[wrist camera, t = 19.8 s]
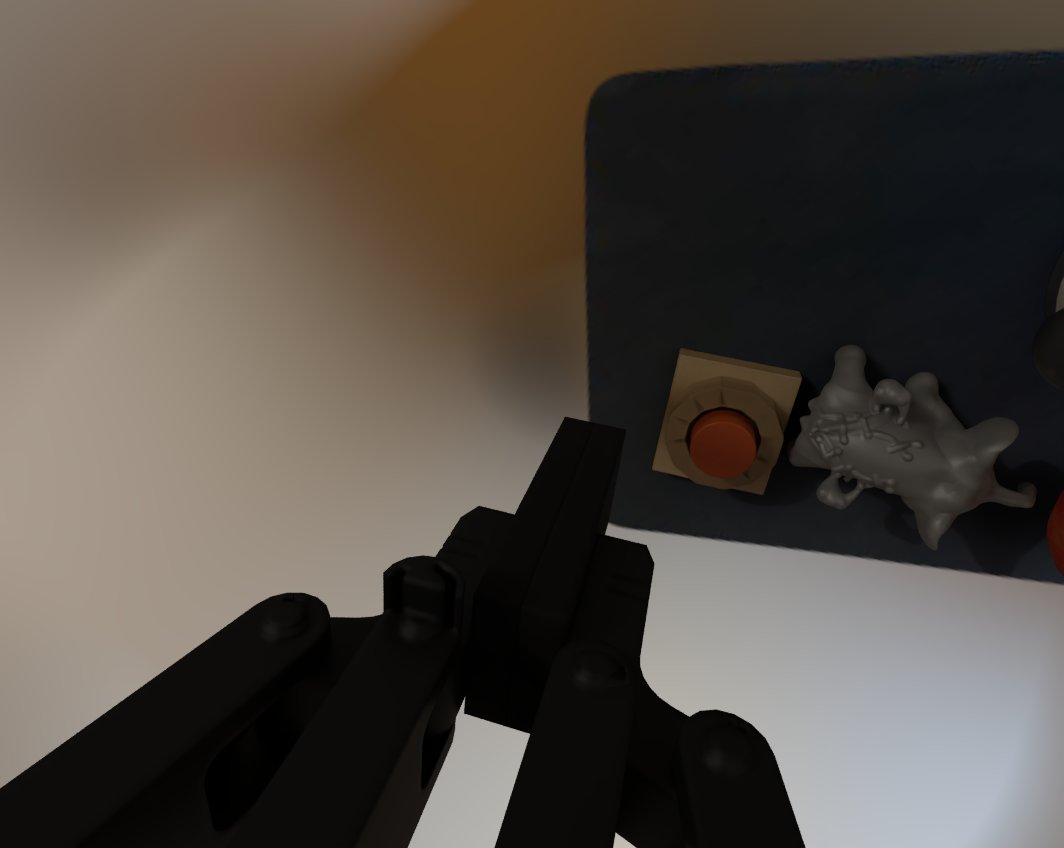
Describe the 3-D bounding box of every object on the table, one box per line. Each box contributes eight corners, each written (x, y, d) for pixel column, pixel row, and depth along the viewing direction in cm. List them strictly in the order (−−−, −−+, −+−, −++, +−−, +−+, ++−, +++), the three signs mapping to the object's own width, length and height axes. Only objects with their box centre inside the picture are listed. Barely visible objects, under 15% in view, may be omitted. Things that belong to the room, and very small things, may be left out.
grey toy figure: (796, 338, 37) (813, 387, 30) (1040, 340, 34) (1119, 396, 27) (781, 478, 41) (793, 550, 34) (999, 492, 38) (1060, 574, 31)
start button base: (680, 348, 39) (677, 364, 36) (800, 371, 38) (806, 390, 35) (653, 461, 43) (649, 483, 40) (762, 486, 41) (764, 511, 39)
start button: (699, 403, 37) (698, 415, 36) (762, 416, 37) (764, 429, 35) (685, 456, 39) (683, 470, 38) (745, 470, 38) (746, 485, 37)
